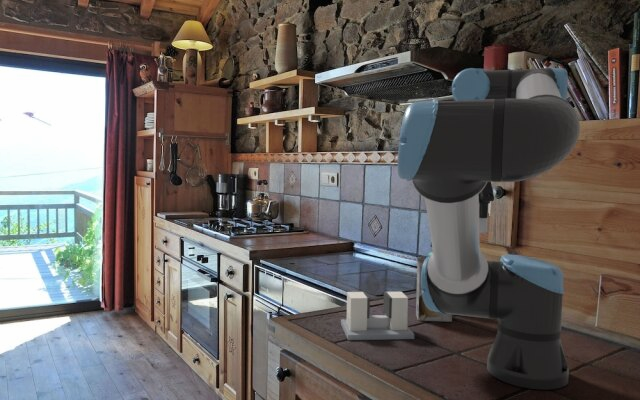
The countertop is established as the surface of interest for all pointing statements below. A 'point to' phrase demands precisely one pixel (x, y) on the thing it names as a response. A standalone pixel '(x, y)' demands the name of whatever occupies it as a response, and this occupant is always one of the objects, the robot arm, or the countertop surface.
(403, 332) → the rail base
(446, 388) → the countertop surface
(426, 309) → the coffee box
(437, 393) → the countertop surface
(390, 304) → the white bridge block
